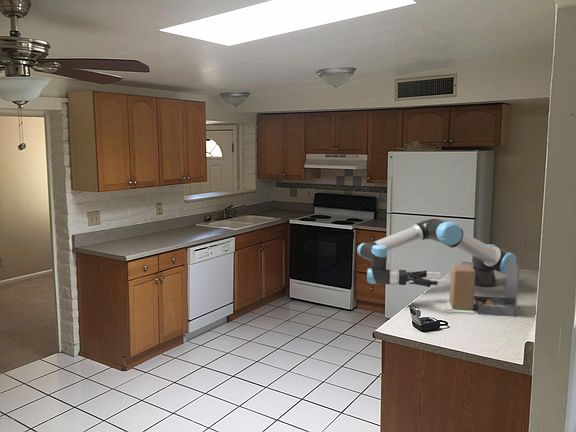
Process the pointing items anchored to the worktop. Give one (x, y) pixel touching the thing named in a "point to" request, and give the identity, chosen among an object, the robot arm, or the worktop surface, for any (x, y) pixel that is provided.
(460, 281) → the wooden block
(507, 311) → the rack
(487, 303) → the upper offcut
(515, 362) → the worktop surface
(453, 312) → the mat
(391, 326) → the worktop surface
